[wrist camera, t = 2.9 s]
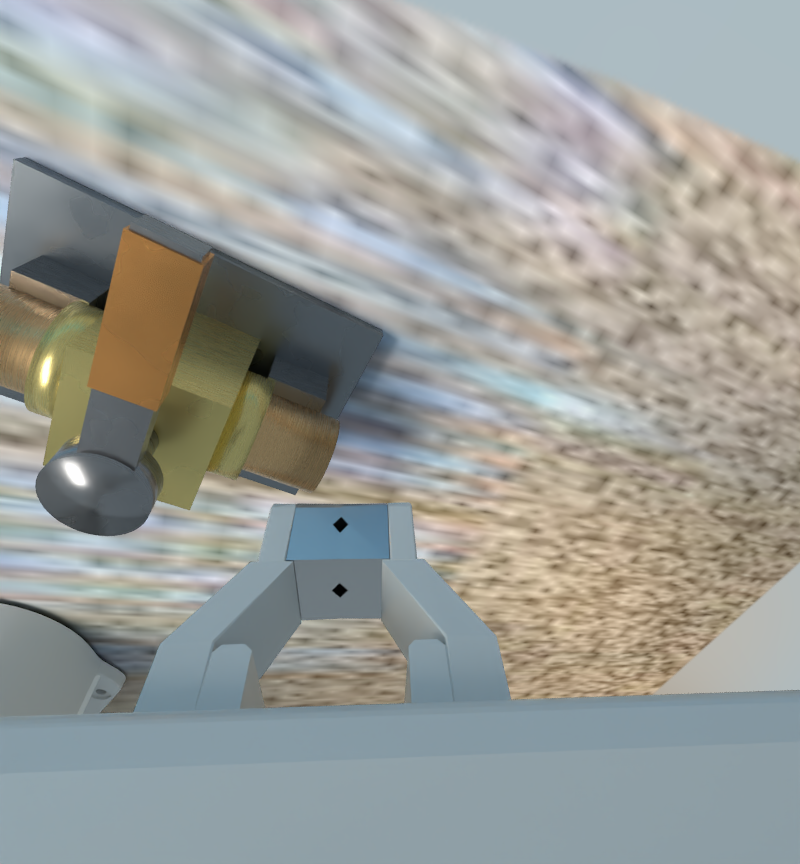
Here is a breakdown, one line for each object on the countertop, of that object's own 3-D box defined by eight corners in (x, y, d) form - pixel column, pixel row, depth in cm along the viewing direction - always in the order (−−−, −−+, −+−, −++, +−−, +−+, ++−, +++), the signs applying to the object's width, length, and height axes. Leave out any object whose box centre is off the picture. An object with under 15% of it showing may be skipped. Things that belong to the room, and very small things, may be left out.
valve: (296, 486, 32) (275, 616, 24) (-3, 383, 26) (-161, 505, 18) (382, 330, 26) (392, 430, 18) (24, 157, 21) (-186, 191, 13)
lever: (150, 520, 19) (137, 547, 18) (50, 490, 18) (29, 517, 17) (245, 260, 14) (235, 274, 13) (112, 195, 13) (88, 204, 12)
